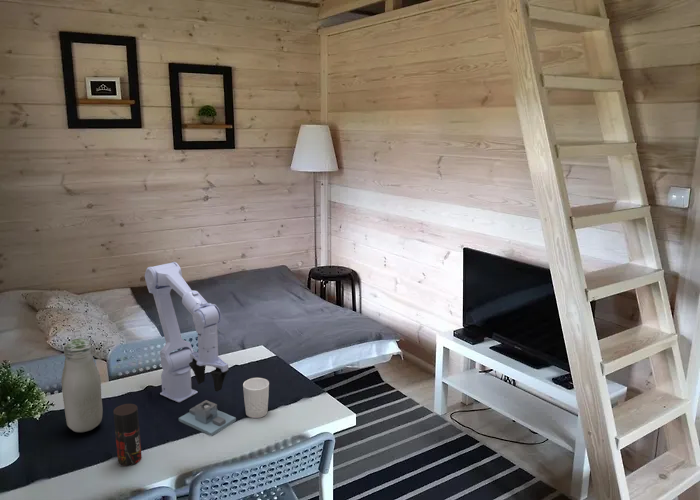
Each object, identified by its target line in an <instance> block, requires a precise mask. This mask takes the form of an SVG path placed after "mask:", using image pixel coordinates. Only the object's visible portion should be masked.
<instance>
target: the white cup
mask: <svg viewBox="0 0 700 500" xmlns="http://www.w3.org/2000/svg"><path fill="white" fill-rule="evenodd" d="M242 387H243V398H244V399H243V400H244V407H245V415H246V416H247V417H248V418H252V419H260V418H263V417H265V416H266V415H267V414H268V409H269V408H268V407H269V398H270V397H269V393H270V391H269V390H270V381H269V380H268V379H266V378H263V377H251V378H249V379H247V380H245V381H244V382H243V384H242Z"/></svg>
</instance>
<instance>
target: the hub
mask: <svg viewBox="0 0 700 500" xmlns="http://www.w3.org/2000/svg"><path fill="white" fill-rule="evenodd" d="M205 405H209V407H208V408H206V409H205V408H204V406H205ZM194 407H195V420H198V421H200V422H202V423H204V424H207V423H209V422H211V421H212V420H213V419H215V418H216V417H217V410H218V404H217V403H215V402H212V401H209V400H207V399H205V400H204V401H202V402H200V403H198V404H196V405H195V406H194Z"/></svg>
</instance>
